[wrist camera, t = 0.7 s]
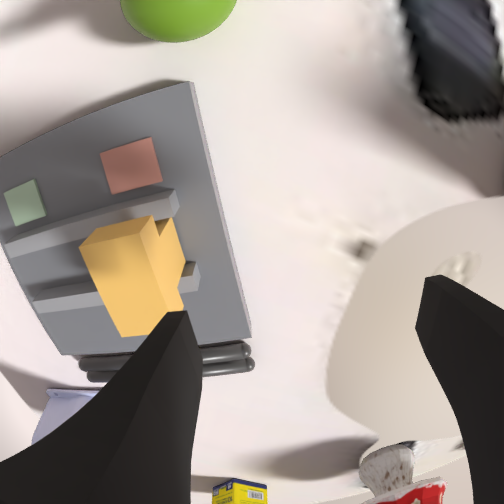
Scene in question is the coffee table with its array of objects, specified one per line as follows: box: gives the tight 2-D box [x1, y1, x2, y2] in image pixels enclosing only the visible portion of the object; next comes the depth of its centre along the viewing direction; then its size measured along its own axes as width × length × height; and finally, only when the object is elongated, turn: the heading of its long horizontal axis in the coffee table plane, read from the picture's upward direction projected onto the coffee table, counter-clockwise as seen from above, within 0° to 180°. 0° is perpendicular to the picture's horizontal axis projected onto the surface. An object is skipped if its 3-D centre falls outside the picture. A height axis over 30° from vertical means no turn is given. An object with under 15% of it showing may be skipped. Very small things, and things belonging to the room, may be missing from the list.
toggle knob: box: [79, 215, 186, 337], centre depth 15 cm, size 3×5×5 cm, turn 11°
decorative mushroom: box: [359, 444, 447, 504], centre depth 28 cm, size 14×14×15 cm
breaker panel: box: [0, 81, 255, 382], centre depth 19 cm, size 16×20×3 cm
